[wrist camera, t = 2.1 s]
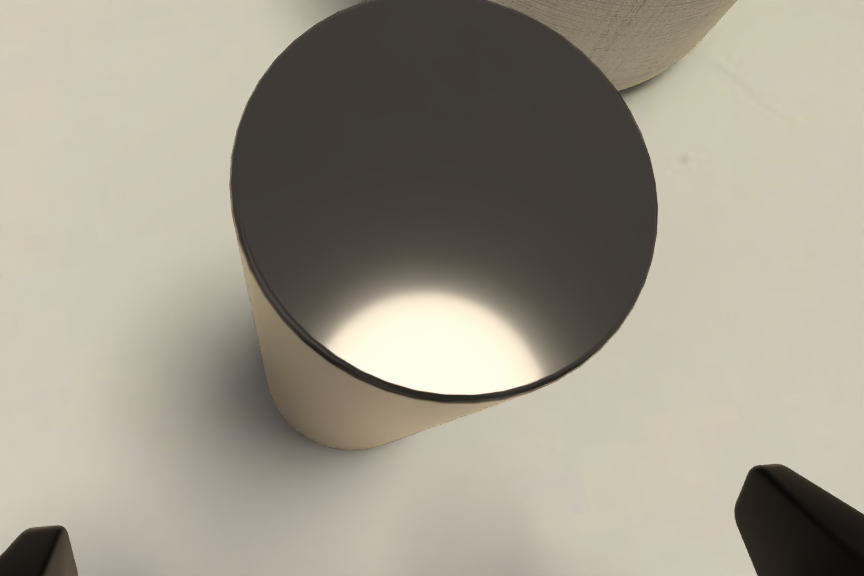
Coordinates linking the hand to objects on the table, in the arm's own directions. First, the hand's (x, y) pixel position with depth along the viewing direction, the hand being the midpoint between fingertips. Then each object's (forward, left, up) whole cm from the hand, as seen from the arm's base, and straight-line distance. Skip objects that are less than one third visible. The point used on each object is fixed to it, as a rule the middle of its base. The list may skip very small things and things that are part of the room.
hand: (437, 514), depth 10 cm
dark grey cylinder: (+4, 0, -10) cm, 11 cm away
